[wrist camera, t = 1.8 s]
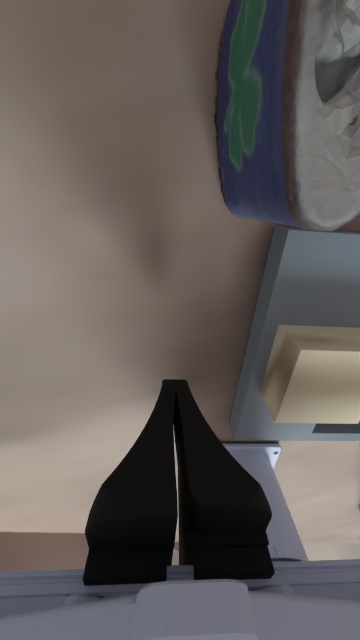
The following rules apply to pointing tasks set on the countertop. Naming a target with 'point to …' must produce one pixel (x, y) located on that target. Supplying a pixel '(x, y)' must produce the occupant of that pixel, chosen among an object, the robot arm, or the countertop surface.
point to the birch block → (313, 375)
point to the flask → (290, 111)
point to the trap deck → (297, 321)
